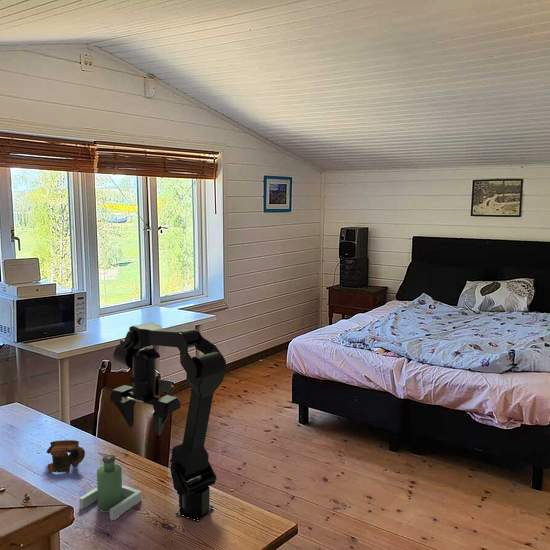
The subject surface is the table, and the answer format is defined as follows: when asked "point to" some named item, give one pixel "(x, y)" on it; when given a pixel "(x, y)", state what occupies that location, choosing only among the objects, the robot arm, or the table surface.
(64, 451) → the pottery mug
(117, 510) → the u rest
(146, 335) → the robot arm
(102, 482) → the bottle
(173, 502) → the table surface
